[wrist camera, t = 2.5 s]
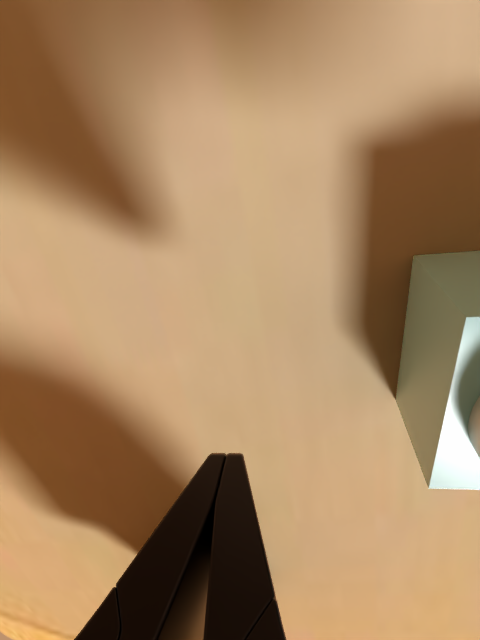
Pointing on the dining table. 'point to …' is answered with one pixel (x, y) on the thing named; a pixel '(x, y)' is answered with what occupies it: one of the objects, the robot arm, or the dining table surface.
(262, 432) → the dining table surface
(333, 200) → the dining table surface
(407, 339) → the teal cube with ball
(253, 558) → the robot arm
